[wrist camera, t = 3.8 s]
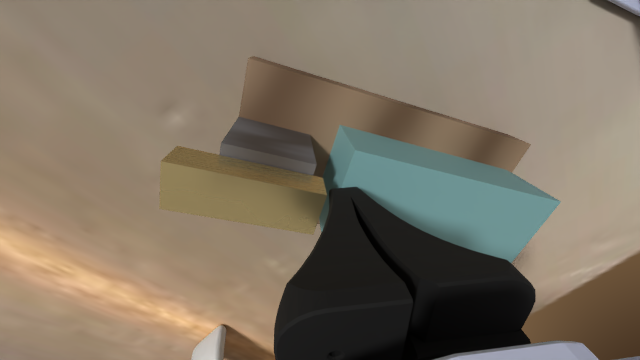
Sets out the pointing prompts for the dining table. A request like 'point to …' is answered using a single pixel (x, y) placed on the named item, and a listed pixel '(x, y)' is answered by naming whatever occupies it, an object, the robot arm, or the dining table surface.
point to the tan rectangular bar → (240, 191)
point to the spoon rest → (211, 346)
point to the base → (343, 123)
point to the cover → (439, 192)
